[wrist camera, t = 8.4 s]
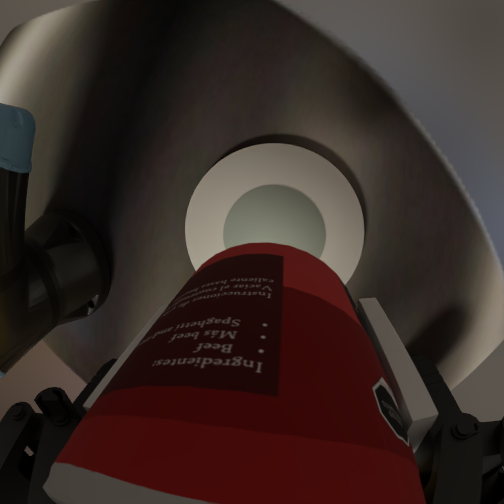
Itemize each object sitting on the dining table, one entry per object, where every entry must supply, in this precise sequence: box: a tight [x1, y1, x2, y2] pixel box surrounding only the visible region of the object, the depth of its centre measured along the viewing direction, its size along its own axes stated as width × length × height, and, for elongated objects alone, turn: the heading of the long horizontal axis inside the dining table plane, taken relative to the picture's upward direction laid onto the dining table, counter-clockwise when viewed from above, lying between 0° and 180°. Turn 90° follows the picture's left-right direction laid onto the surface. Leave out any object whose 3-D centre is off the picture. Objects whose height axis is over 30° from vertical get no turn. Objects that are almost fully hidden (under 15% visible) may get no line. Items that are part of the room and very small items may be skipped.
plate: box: [185, 143, 364, 285], centre depth 27 cm, size 18×18×1 cm
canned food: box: [43, 242, 426, 504], centre depth 8 cm, size 8×8×11 cm
